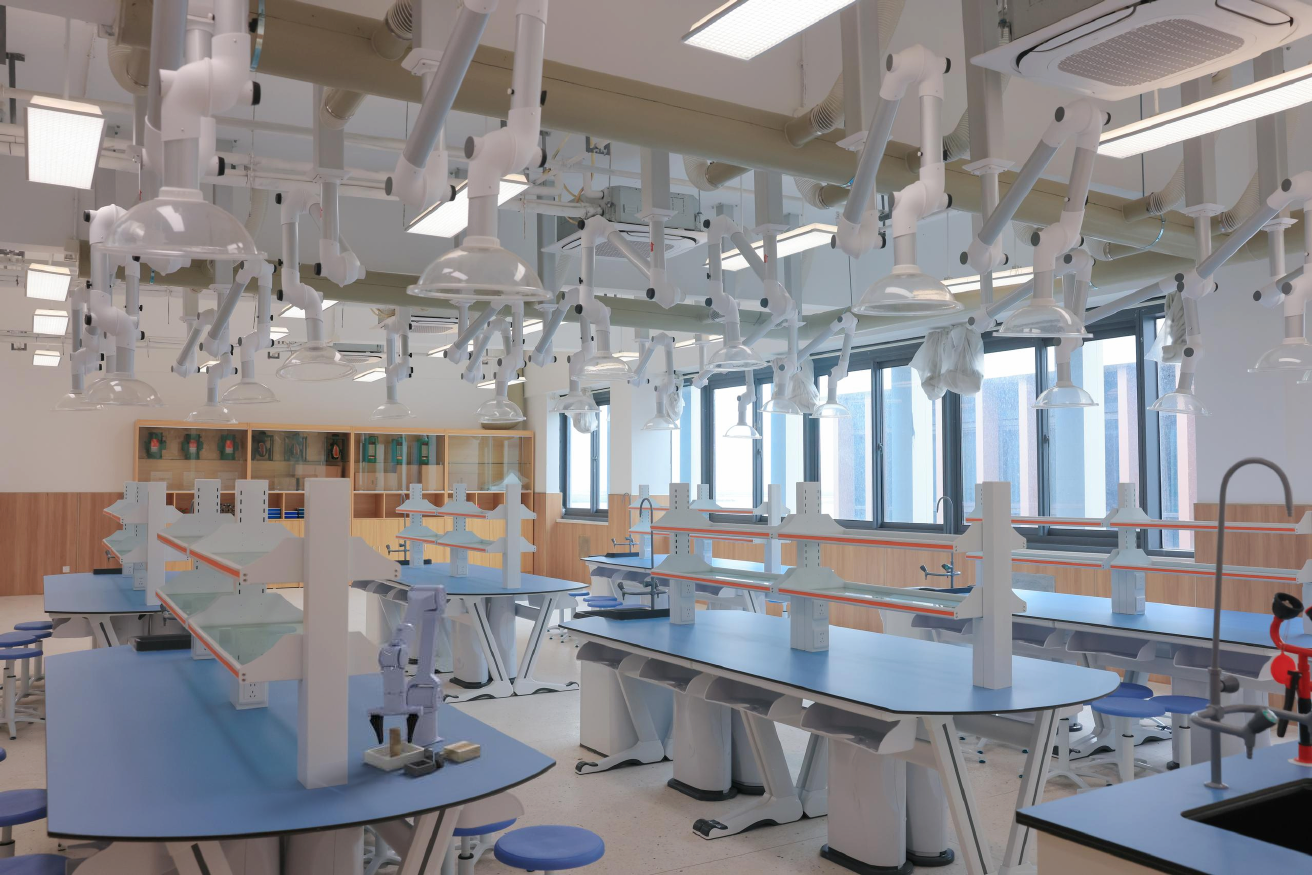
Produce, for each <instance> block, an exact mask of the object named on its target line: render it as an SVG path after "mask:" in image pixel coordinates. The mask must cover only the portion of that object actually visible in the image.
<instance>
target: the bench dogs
mask: <svg viewBox="0 0 1312 875" xmlns="http://www.w3.org/2000/svg"><path fill="white" fill-rule="evenodd" d="M424 758H425V759H427V760H430V761H433V762H435V763H436V769H441V768H444V767H445V758H444V752H443V751H435V752H434V748H433V747H425V749H424Z"/></svg>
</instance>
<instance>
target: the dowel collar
mask: <svg viewBox="0 0 1312 875" xmlns="http://www.w3.org/2000/svg"><path fill="white" fill-rule="evenodd" d="M403 768H404V769H403V770H404V773H407V774H409V775H412V776H414V777H419V776H420V777H421V776H424V775H427V774H429V773H434V772H436V771H437V768H436V763H435V762H434V760H433V761H430V760H427V759H425V758H423V759H420V760H416V761H412V762H409V763H405V764H404V767H403Z"/></svg>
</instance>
